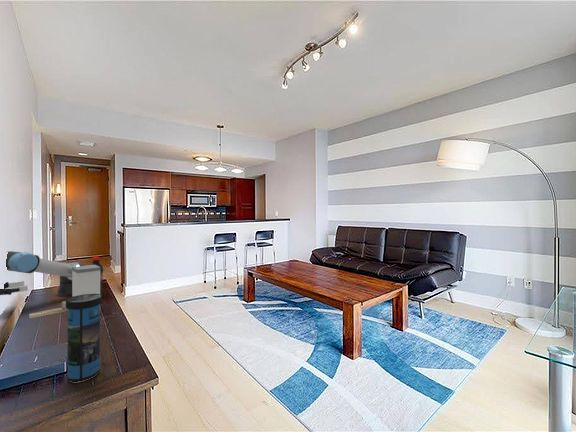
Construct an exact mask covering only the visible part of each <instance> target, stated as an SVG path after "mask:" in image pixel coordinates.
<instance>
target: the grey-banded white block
mask: <svg viewBox="0 0 576 432" xmlns="http://www.w3.org/2000/svg"><path fill="white" fill-rule="evenodd" d="M86 265H87V264H86ZM100 270H101V267H99V266H97V265H92V264H89V265H87V266H77V267H72V295H71V297H74V296H77V295H83V294H100Z"/></svg>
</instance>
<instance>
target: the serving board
mask: <svg viewBox="0 0 576 432" xmlns="http://www.w3.org/2000/svg"><path fill="white" fill-rule="evenodd" d="M64 312H68V309H67V308H66V300H63V301H62V302H61V307H58V308H53V309H47V310H42V311H37V312H32V313H28V318H29V319H34V318H39V317H44V316H49V315H55V314H59V313H64Z"/></svg>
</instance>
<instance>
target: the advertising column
mask: <svg viewBox="0 0 576 432" xmlns="http://www.w3.org/2000/svg"><path fill="white" fill-rule="evenodd" d="M65 301H66V308H67V309H68V311H67V381H68V380H69V381H72V382H78V381H83V380H86V379H89V378H91V377H93V376H95V375H96V374H97V373H98V372H99V371H100V372H101V347H100V346H101V304H102V303H103V296H102V295H100V294H83V295H77V296H74V297H72V296H70V297H68V298H67V299H65ZM100 372H99V373H100Z"/></svg>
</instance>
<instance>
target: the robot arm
mask: <svg viewBox="0 0 576 432" xmlns="http://www.w3.org/2000/svg"><path fill="white" fill-rule="evenodd" d="M7 252H8V254H7V259H6V267H7V270H8V271H9V272H17V273H23V274H33V273H41V274H45V275H53V276H57V277H58V276H59V285H58V289H56V290H57V291H56V296H57V297H69V296H70V297H72V267H77V266H87V264H81V263H80V262H77V261H76V262H74V261H73V262H67V263H65V262H60V261H55V260H50V259H44V258H41V257H40V256H39V255H37V254H33V253H30V252H28V251H27V252H26V251H23V252H21V251H13V250H12V251H7ZM26 291H28V285H25V281H24V280H23V281H16V282H15V281H14V282H9V281H6V282H5V284H4V289H0V296H6V295H8V296H10V295H12V294H14V293H21V292H26Z"/></svg>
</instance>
